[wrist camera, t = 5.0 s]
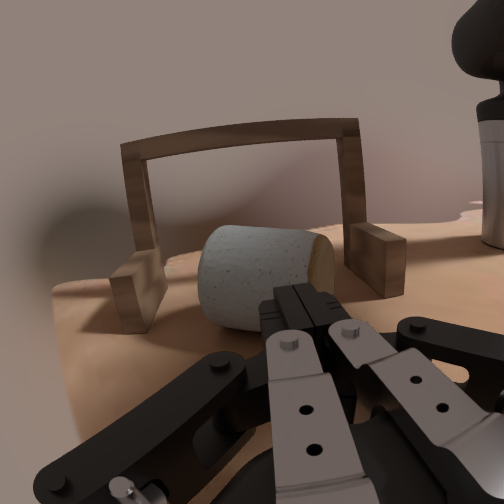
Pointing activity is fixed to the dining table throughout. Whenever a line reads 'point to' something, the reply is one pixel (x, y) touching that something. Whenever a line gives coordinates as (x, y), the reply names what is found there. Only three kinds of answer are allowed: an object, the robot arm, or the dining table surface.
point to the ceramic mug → (258, 270)
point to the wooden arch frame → (342, 129)
